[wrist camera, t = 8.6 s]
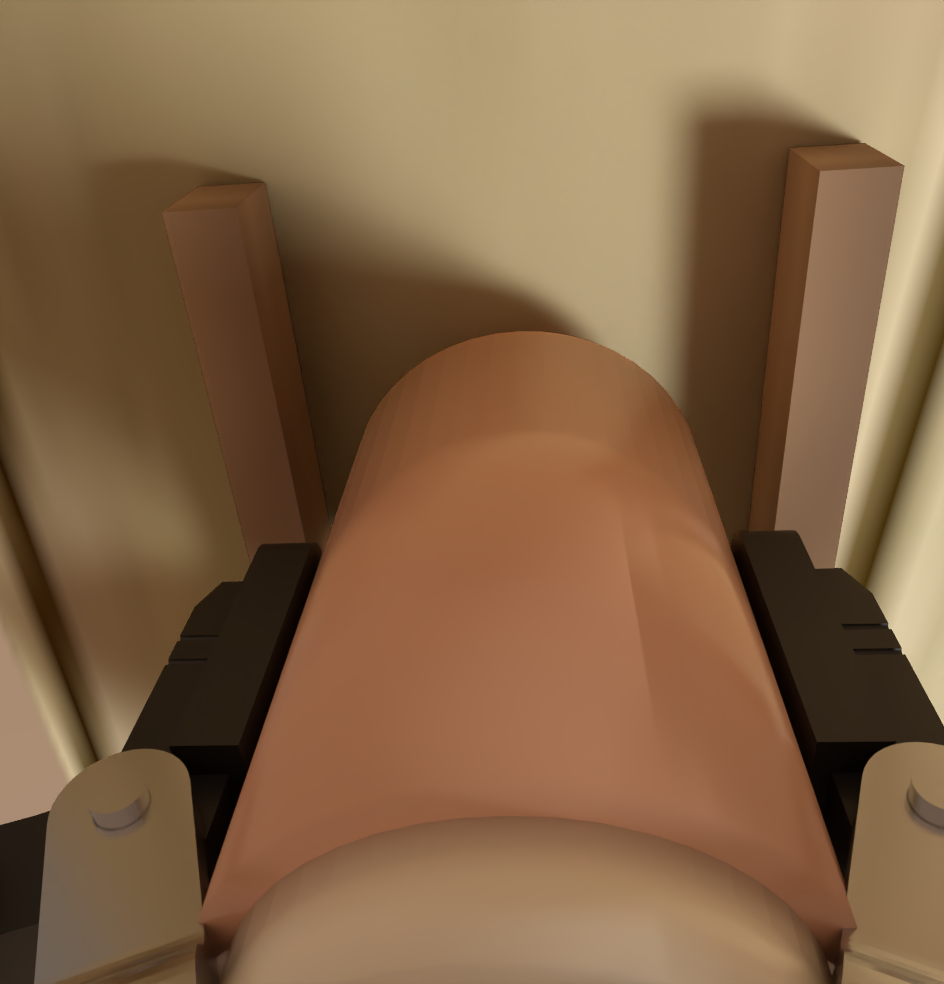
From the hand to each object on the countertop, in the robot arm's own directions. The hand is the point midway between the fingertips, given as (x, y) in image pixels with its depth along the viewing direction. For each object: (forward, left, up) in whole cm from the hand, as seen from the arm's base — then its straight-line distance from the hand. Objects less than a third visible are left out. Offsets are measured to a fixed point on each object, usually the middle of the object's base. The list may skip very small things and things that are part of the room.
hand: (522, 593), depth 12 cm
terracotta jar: (0, 0, -3) cm, 3 cm away
